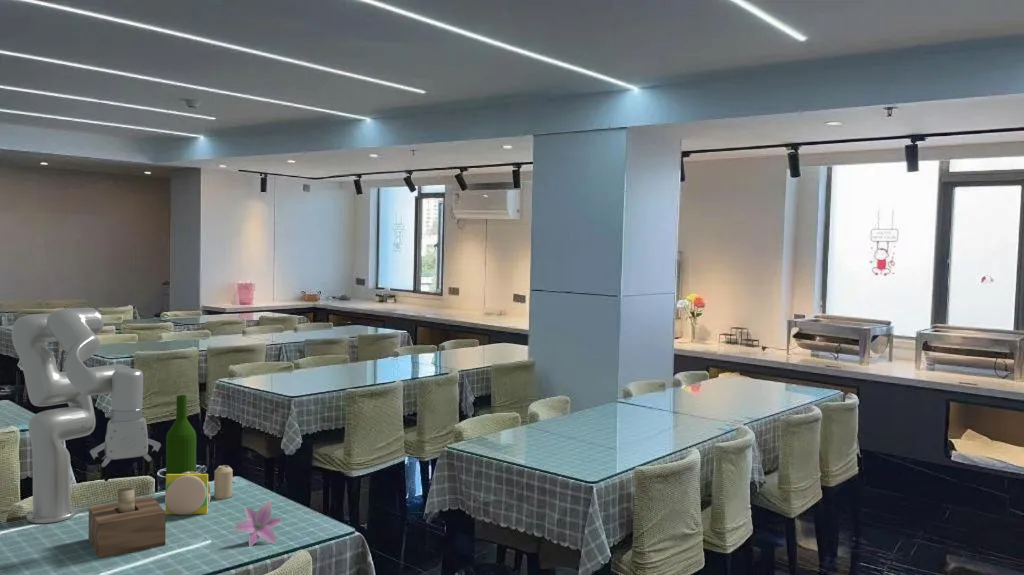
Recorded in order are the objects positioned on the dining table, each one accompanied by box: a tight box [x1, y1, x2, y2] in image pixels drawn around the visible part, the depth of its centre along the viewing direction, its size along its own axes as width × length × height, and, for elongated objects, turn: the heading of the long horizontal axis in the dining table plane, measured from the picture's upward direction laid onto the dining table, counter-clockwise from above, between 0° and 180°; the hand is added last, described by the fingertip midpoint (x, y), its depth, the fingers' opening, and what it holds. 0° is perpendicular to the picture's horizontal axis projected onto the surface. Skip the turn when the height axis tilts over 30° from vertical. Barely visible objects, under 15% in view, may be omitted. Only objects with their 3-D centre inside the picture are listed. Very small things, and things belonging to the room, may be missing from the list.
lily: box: [232, 499, 283, 547], centre depth 211 cm, size 12×12×10 cm
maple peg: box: [117, 486, 136, 514], centre depth 207 cm, size 4×4×7 cm
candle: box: [213, 464, 234, 500], centre depth 247 cm, size 6×6×10 cm
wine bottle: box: [165, 394, 197, 475], centre depth 246 cm, size 9×9×32 cm
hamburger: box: [164, 471, 212, 516], centre depth 232 cm, size 12×8×12 cm
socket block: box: [88, 496, 167, 559], centre depth 207 cm, size 16×16×9 cm
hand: (125, 477), depth 207 cm, fingers open, 9 cm apart
